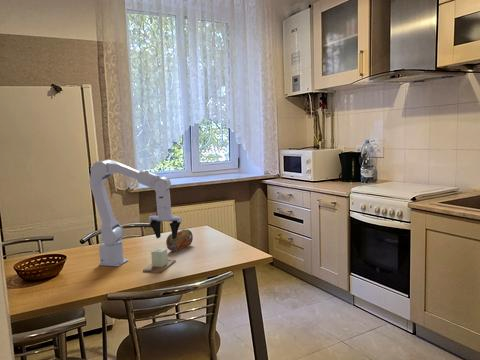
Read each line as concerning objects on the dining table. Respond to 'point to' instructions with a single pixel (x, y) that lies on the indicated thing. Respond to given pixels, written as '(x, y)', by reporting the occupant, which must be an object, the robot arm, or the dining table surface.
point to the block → (159, 257)
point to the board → (159, 269)
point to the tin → (179, 240)
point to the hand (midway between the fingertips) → (166, 238)
